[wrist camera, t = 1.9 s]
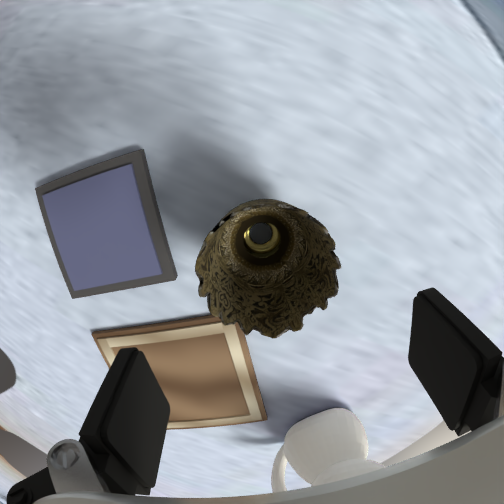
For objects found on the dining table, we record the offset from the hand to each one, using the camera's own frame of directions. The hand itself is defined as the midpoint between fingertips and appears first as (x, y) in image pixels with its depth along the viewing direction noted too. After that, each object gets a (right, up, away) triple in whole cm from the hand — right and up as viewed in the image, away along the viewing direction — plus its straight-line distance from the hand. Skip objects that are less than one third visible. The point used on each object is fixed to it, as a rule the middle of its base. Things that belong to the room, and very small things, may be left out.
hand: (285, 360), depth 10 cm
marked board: (-8, -9, +18) cm, 22 cm away
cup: (0, +5, +14) cm, 15 cm away
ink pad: (-13, +5, +13) cm, 19 cm away
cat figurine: (+6, -17, +22) cm, 28 cm away
